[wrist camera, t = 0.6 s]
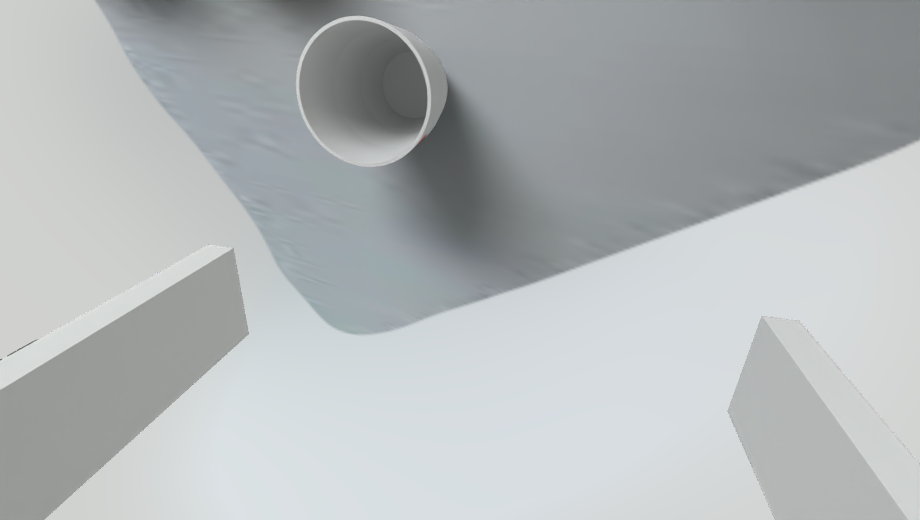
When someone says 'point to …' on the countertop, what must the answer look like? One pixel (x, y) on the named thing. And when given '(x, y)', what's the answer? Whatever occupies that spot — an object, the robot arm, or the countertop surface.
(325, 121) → the cup
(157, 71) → the countertop surface
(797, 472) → the robot arm
